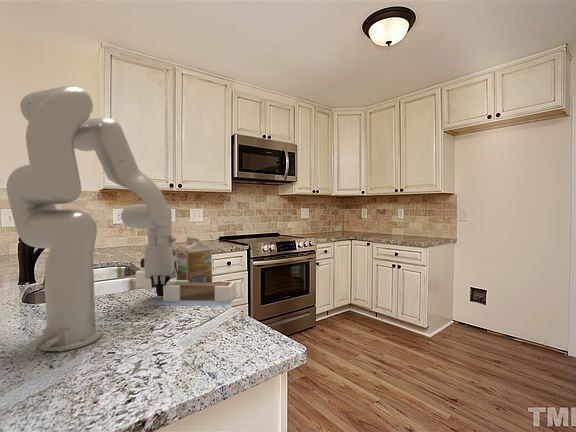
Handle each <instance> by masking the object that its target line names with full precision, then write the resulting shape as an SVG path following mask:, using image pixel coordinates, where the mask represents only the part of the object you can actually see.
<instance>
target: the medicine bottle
mask: <svg viewBox="0 0 576 432" xmlns="http://www.w3.org/2000/svg"><path fill="white" fill-rule="evenodd" d="M161 279H162V275H161ZM135 288H137V289H139V288H140V289H153V288H156V285H155V284H154V282H153V281H152V280H151V279H148V278H145V272H144V257H143V258H142V259H140V270H137V271H135Z"/></svg>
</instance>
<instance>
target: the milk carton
mask: <svg viewBox="0 0 576 432" xmlns="http://www.w3.org/2000/svg"><path fill="white" fill-rule="evenodd" d="M186 239H187V240H186V241H184V242H183V243H182V244H180V245H179V246H178V247H177V248H176V253H177V259H178V271H177V272H176V273H177V277H176V280H188V282H194V283H213V260H212V259H213V257H212V255H213V254H212V253H213V252H212V250H213V249H212V248H211V247H209V246H208V245H207V244H204V243H203V242H201V239H200V238H197V237H189V236H187V238H186Z"/></svg>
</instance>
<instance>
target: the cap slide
mask: <svg viewBox="0 0 576 432" xmlns="http://www.w3.org/2000/svg"><path fill="white" fill-rule="evenodd" d="M184 282H188V280H177V279H176V280H172V281H171V282H169V283H168V282H167V285H165V286H163V302H179V301H181V298H180V286H179V285H180V284H182V283H184Z"/></svg>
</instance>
